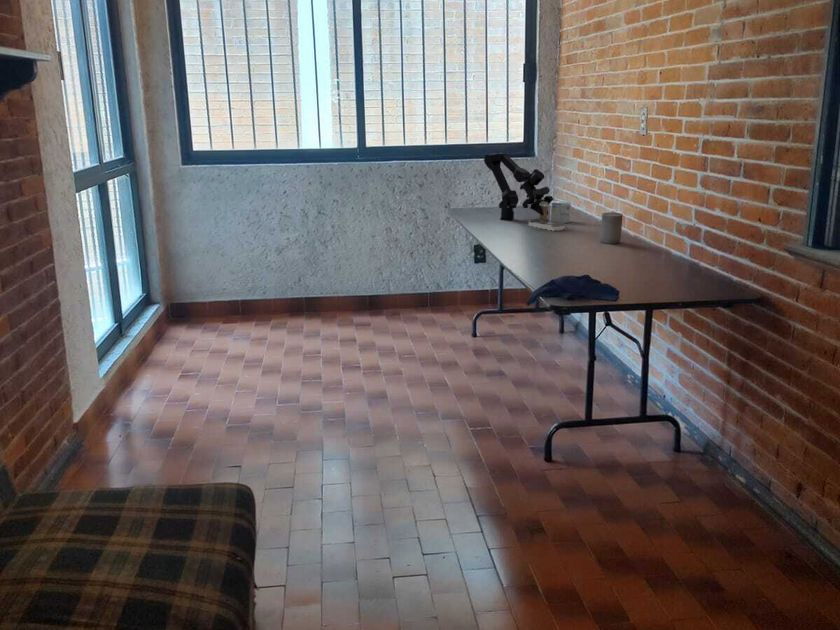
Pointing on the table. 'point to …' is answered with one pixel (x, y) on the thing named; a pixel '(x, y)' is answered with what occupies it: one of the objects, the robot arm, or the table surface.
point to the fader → (544, 208)
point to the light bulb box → (560, 211)
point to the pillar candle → (611, 228)
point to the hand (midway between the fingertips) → (545, 214)
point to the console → (547, 225)
